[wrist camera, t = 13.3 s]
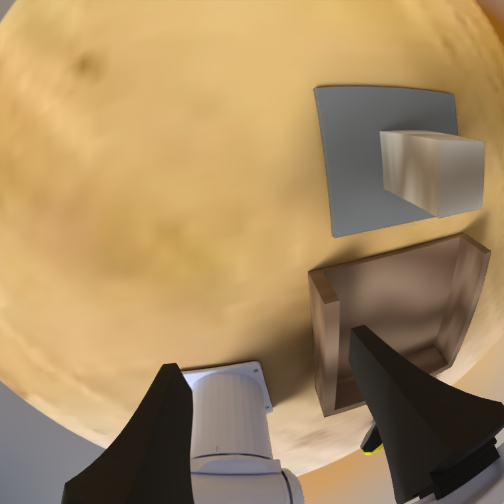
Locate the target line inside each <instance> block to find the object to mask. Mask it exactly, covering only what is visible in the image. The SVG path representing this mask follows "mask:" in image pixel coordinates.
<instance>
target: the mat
mask: <svg viewBox="0 0 504 504" xmlns="http://www.w3.org/2000/svg"><path fill="white" fill-rule="evenodd" d="M314 94H315V100H316V105H317V111H318V117H319V123H320V130H321V136H322V143H323V151H324V158H325V166H326V175H327V184H328V194H329V204H330V216H331V229H332V236H333V237H334V238H338V237H343V236H347V235H352V234H357V233H362V232H366V231H371V230H376V229H381V228H385V227H390V226H395V225H400V224H404V223H409V222H414V221H418V220H423V219H428V218H433V217H436V216H434V215H432V214H431V213H429V212H427V211H425V210H423V209H422V208H420V207H418V206H416V205H414V204H412V203H411V202H409V201H407V200H405V199H403V198H401V197H399V196H397V195H395V194H393V193H391V192H389V191H387V190H385V189H384V183H383V165H382V151H381V140H380V131H401V130H425V131H432V132H438V133H444V134H450V135H456V136H458V131H457V118H456V108H455V100H454V94H449V93H442V92H435V91H428V90H419V89H408V88H394V87H369V86H345V87H319V88H314Z"/></svg>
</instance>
